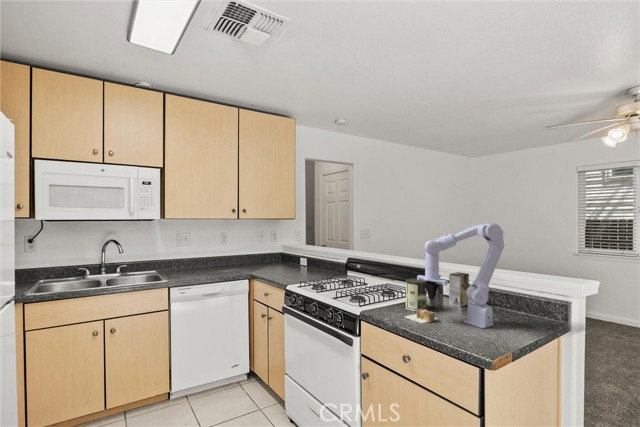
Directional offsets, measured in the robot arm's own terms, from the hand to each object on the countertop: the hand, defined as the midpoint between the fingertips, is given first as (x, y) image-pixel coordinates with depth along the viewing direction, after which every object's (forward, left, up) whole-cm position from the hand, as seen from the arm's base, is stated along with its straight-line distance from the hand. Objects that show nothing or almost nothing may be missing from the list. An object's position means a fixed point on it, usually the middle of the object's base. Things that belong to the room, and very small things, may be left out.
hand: (431, 298), depth 151 cm
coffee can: (+17, -9, -10) cm, 21 cm away
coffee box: (+10, -34, -10) cm, 37 cm away
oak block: (-1, +1, -8) cm, 8 cm away
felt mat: (+5, +1, -10) cm, 11 cm away
